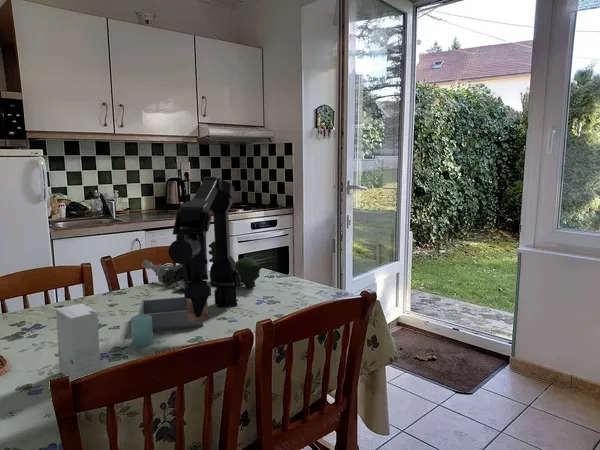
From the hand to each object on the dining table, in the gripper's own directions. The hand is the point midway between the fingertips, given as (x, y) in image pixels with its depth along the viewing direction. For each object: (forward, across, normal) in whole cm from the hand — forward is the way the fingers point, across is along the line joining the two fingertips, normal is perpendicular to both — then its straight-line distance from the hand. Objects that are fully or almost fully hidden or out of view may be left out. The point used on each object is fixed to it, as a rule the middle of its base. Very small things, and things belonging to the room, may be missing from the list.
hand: (197, 313), depth 112 cm
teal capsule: (+7, -2, -14) cm, 16 cm away
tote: (+7, -16, -7) cm, 19 cm away
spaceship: (+8, -58, -9) cm, 59 cm away
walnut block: (+1, 0, 0) cm, 1 cm away
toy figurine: (+8, -47, +16) cm, 50 cm away
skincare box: (+8, +11, -26) cm, 29 cm away
